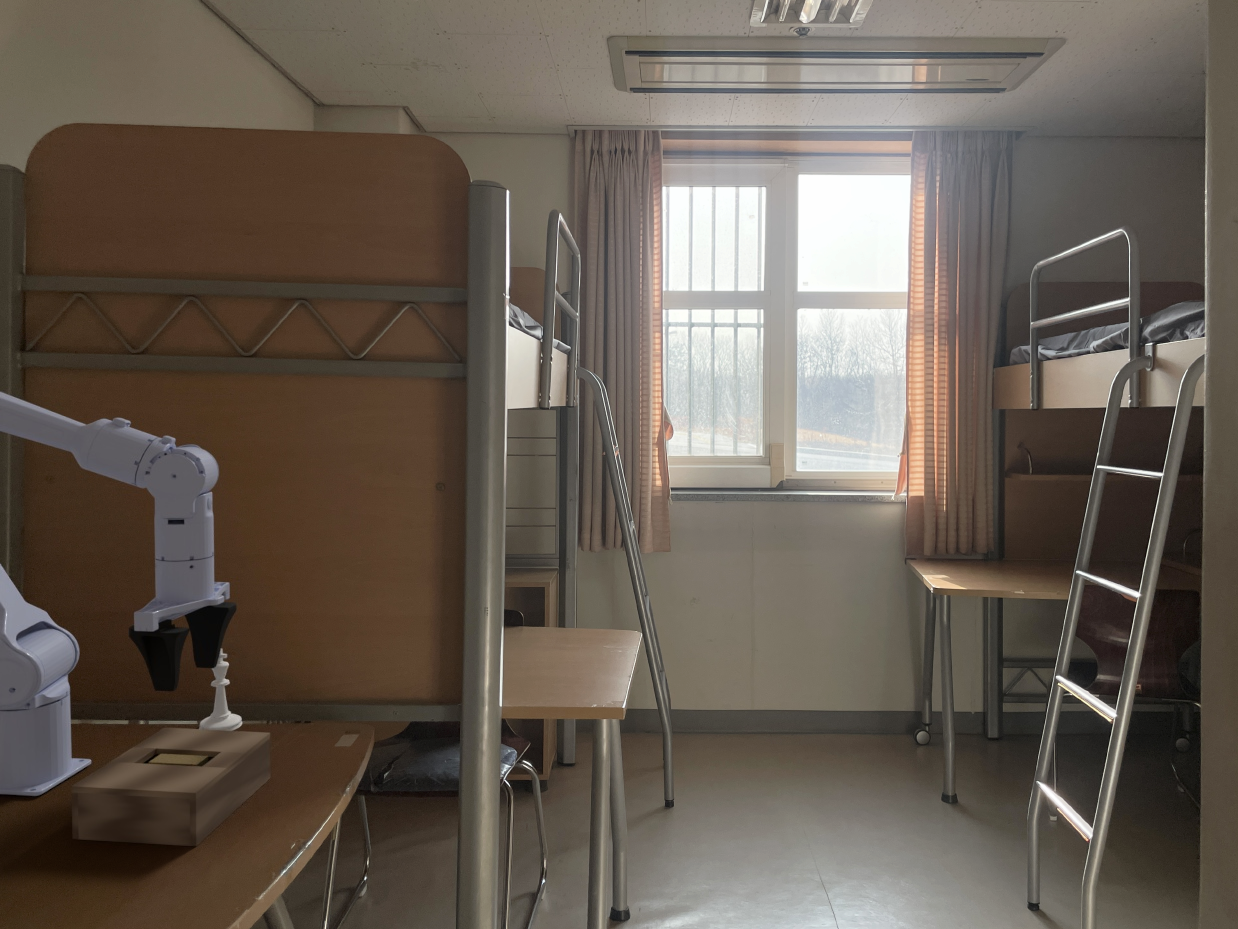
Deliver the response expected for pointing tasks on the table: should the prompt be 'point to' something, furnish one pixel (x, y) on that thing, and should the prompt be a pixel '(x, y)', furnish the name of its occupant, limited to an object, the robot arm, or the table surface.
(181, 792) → the beige block with hole
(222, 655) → the chess piece
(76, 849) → the table surface
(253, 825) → the table surface
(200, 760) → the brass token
